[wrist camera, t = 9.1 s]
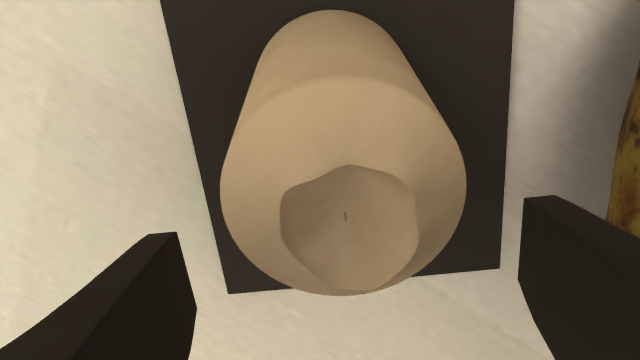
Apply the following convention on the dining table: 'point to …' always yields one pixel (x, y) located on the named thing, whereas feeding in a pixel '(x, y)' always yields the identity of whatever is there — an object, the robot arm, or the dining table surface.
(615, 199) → the potato
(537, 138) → the dining table surface
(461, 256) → the mat
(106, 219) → the dining table surface
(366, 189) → the candle
